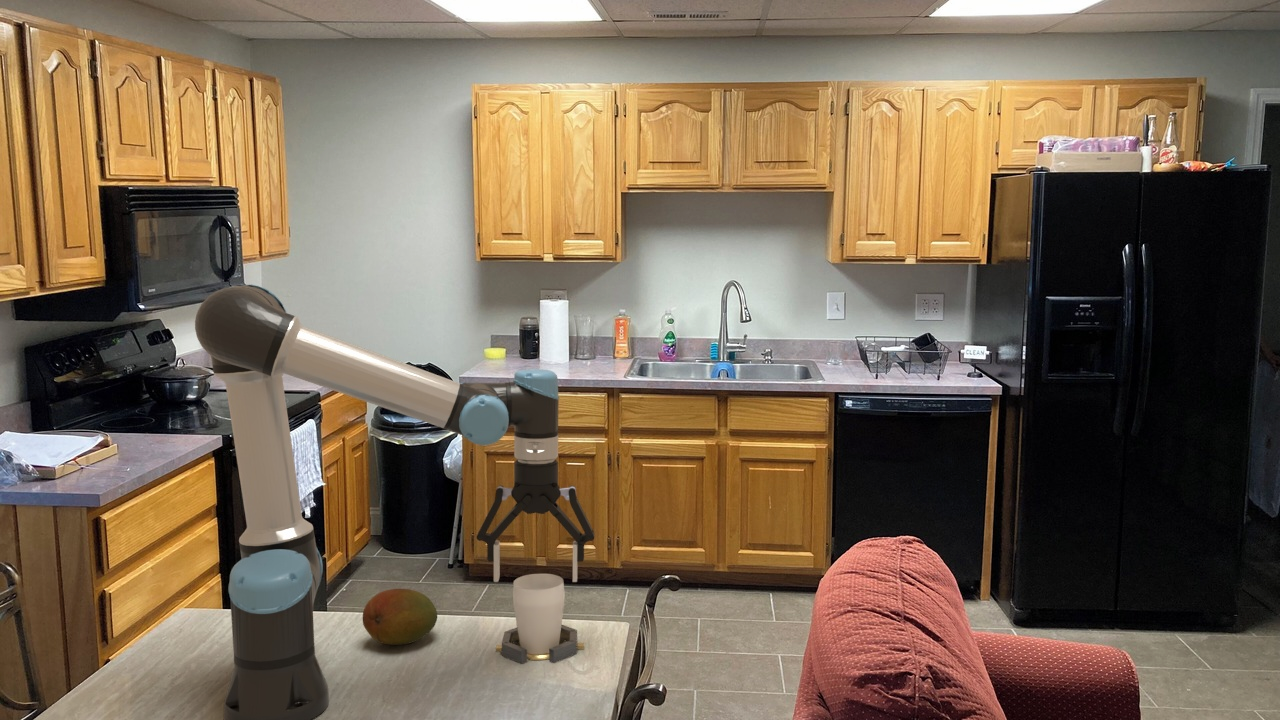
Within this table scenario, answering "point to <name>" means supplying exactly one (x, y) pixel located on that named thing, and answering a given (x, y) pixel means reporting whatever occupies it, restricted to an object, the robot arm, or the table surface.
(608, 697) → the table surface
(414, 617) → the fruit
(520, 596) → the cup
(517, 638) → the socket
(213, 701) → the table surface
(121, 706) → the table surface
